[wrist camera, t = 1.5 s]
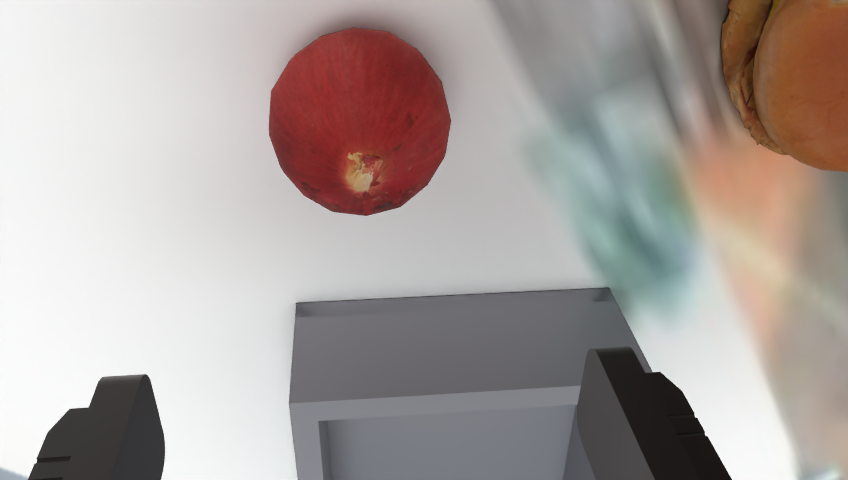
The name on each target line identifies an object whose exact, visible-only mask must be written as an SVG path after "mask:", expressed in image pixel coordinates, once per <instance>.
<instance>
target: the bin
mask: <svg viewBox="0 0 848 480" xmlns="http://www.w3.org/2000/svg"><path fill="white" fill-rule="evenodd" d="M624 346H629V347H631V348H632V349H633V351H634V352H635V354H636V356H637V358H638V360H639V362H640V364H641V365H642V367H643V369H644V371H645V373H653V372H652V370H651V368H650V366H649V364H648V362H647V360H646V358H645V356H644V354H643V353H642V351H641V349H640V347H639V345H638V343H637V341H636V339H635V337H634V335H633V333H632V331H631V329H630V327H629V325H628V324H627V322H626V320H625V318H624V316H623V314H622V312H621V310H620V308H619V306H618V304H617V302H616V300H615V298H614V296H613V295H612V293H611V291H610V289H609V288H597V289H576V290H556V291H535V292H515V293H495V294H474V295H454V296H433V297H413V298H393V299H372V300H352V301H331V302H311V303H296V313H295V327H294V341H293V354H292V368H291V382H290V396H289V408H290V417H291V425H292V434H293V442H294V451H295V459H296V468H297V476H298V480H596V479H595V477H594V474H593V471H592V469H591V466H590V463H589V461H588V458H587V455H586V453H585V450H584V447H583V444H582V442H581V439H580V435H579V431H578V424H577V405H578V399H579V393H580V388H581V382H582V377H583V371H584V365H585V360H586V355H587V352H588V350H589V349H592V348H608V347H624Z"/></svg>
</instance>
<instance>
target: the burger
mask: <svg viewBox="0 0 848 480" xmlns="http://www.w3.org/2000/svg"><path fill="white" fill-rule="evenodd" d="M728 8H729V9H730V13H729V15H728V17H727V19H726V22H725V23H724V24H723V25H722V40H721V52H722V58H723V72H724V77H725V82H726V85H727V86H728V88H729V92H730V97H731V100H732V102H733V104H734V105H735V107H736V108H737V110H738V112H739V113H740V115H741V118H742V121H743V124H744V127H745V128H747V129H749V130H750V133H751V136H752V137H753V138H754V139H755V140H756V142H757V145H758V144H759V143H760V144H761V145H763V146H765V147H766V148H768V149H770V150H772V151H774V152H776V153H779V154H781V155H790V156H792V157H793V158H795V159H796V160H798V161H799V162H801V163H804V164H806V165H809V166H812V167H815V168H818V169H821V170H830V171H845V172H848V0H730V1H729V3H728Z"/></svg>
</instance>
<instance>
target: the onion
mask: <svg viewBox="0 0 848 480" xmlns="http://www.w3.org/2000/svg"><path fill="white" fill-rule="evenodd" d="M450 123H451V119H450V114H449V110H448V106H447V102H446V98H445V94H444V90H443V86H442V82H441V80H440V79H439V77H438V76H437V74H436V73H435V72H434V70H433V69H432V68H431V66H430V65H429V64H428V62H427V61H426V59H425V58H424V57H423V55H422V54H421V53H420V52H419V51H418V50H417V49H416V48H414V47H413V46H411V45H409V44H408V43H406V42H405V41H403V40H401V39H400V38H398V37H396V36H395V35H393V34H391V33H390V32H386V31H378V30H370V29H362V28H351V29H347V30H343V31H339V32H335V33H331V34H327V35H323V36H321V37H319V38H318V39H317V40H315V41H314V42H312V43H311V44H310V45H308V46H307V47H305V48H304V49H302V50H301V51H300V52H298V53H297V54H295V55H294V57H293V58H292V59H291V60H290V61H289V63H288V64H287V66H286V68H285V69H284V71H283V72H282V74H281V76H280V77H279V79H278V81H277V82H276V84H275V86H274V87H273V89H272V91H271V101H270V116H269V136H270V139H271V142H272V144H273V147H274V150H275V153H276V156H277V158H278V161H279V164H280V167H281V168H282V170H283V172H284V173H285V174H286V175H287V177H288V178H289V179H290V180H291V181H292V182H293V183H294V185H295V186H296V187H297V188H298V189H299V190H300V191H301V193H302V194H303V195H304V196H306V197H308V198H309V199H311V200H313V201H315V202H316V203H318V204H320V205H322V206H323V207H325V208H327V209H329V210H330V211H333V212H339V213H348V214H356V215H364V216H368V215H371V214H375V213H379V212H383V211H387V210H391V209H395V208H399V207H401V206H402V205H403V204H405V203H406V202H407V201H408V200H410V199H411V198H412V197H413V196H414V195H416V194H417V193H418V192H419V191H421V190H422V189H423V188H424V187H425V186H427V185H428V183H429V181H430V180H431V178H432V176H433V175H434V173H435V172H436V170H437V168H438V167H439V165H440V163H441V162H442V160H443V159H444V156H445V153H446V148H447V142H448V136H449V129H450Z"/></svg>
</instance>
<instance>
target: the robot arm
mask: <svg viewBox="0 0 848 480" xmlns="http://www.w3.org/2000/svg"><path fill="white" fill-rule="evenodd" d="M577 424H578V431H579V435H580V439H581V442H582V444H583V447H584V450H585V453H586V455H587V458H588V461H589V463H590V466H591V469H592V471H593V474H594V477H595V479H596V480H732V479H731V477H730V476H729V474H728V472H727V470H726V468H725V467H724V465H723V463H722V461H721V460H720V458H719V456H718V454H717V453H716V451H715V449H714V447H713V445H712V444H711V442H710V440H709V438H708V437H707V436H705V431H704V429H703V428H702V426H701V424H700V422H699V421H698V419H697V418H695V416H694V412H693V410H692V408H691V406H690V405H689V403H688V401H687V399H686V398H685V396H684V394H683V392H682V391H681V390H680V389H679V388H678V387H677V386H675V385H674V384H673V383H672V382H671V381H670V380H669V379H667V378H666V377H665V376H664V375H663V374H662V373H661V372H653V373H645V371H644V369H643V367H642V365H641V364H640V362H639V360H638V358H637V356H636V354H635V352H634V351H633V349H632V348H631V347H629V346H624V347H608V348H592V349H589V350H588V352H587V355H586V360H585V365H584V371H583V377H582V382H581V388H580V393H579V399H578V405H577ZM164 459H165V442H164V434H163V429H162V425H161V421H160V417H159V413H158V409H157V405H156V401H155V397H154V393H153V389H152V385H151V381H150V379H149V377H148V375H146V374H143V375H127V376H110V377H102V378H101V379H100V381H99V382H98V384H97V387H96V390H95V392H94V395H93V398H92V401H91V403H90V406H89V408H77V409H69V410H68V411H67V412H66V414H65V415H64V416H63V417H62V418H61V419H60V420H59V421H58V422H57V423H56V424H55V425H54V426H53V427H52V429H51V430H50V431H49V432H48V433H47V436H46V438H45V440H44V443H43V445H42V447H41V450H40V452H39V455H38V457H37V463H36V464H34V467H33V469H32V471H31V474H30V476H29V479H28V480H161V476H162V472H163V467H164Z"/></svg>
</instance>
